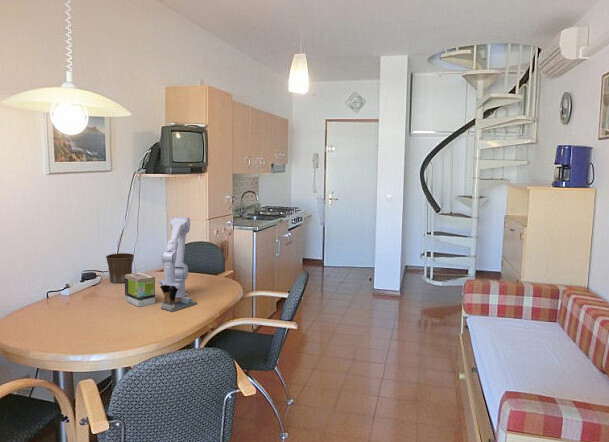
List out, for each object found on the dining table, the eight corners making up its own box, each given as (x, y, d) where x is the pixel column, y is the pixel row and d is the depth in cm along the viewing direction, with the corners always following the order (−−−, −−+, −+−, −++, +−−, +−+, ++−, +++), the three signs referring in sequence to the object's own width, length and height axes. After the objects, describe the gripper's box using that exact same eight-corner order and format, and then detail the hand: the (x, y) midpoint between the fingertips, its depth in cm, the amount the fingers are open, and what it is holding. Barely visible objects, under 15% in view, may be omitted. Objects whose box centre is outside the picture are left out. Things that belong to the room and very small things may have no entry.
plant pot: (128, 285, 286) (128, 258, 284) (102, 284, 286) (101, 258, 284) (138, 278, 302) (137, 253, 300) (113, 277, 302) (112, 252, 300)
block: (164, 302, 251) (164, 293, 250) (170, 300, 254) (170, 291, 254) (169, 303, 249) (169, 294, 248) (175, 301, 252) (175, 292, 251)
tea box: (156, 303, 251) (155, 276, 249) (138, 307, 244) (137, 279, 242) (141, 297, 261) (141, 271, 259) (124, 301, 254) (123, 274, 252)
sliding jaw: (180, 302, 251) (180, 296, 251) (184, 301, 253) (184, 295, 253) (188, 304, 248) (188, 298, 247) (192, 303, 250) (192, 297, 250)
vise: (161, 309, 242) (161, 302, 241) (186, 301, 256) (186, 295, 255) (171, 312, 237) (171, 305, 237) (197, 304, 252) (197, 297, 251)
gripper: (154, 273, 250) (154, 298, 252) (172, 277, 242) (173, 303, 244) (164, 271, 256) (165, 295, 258) (183, 275, 248) (183, 300, 250)
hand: (169, 299), depth 251 cm, fingers closed on block, 4 cm apart
